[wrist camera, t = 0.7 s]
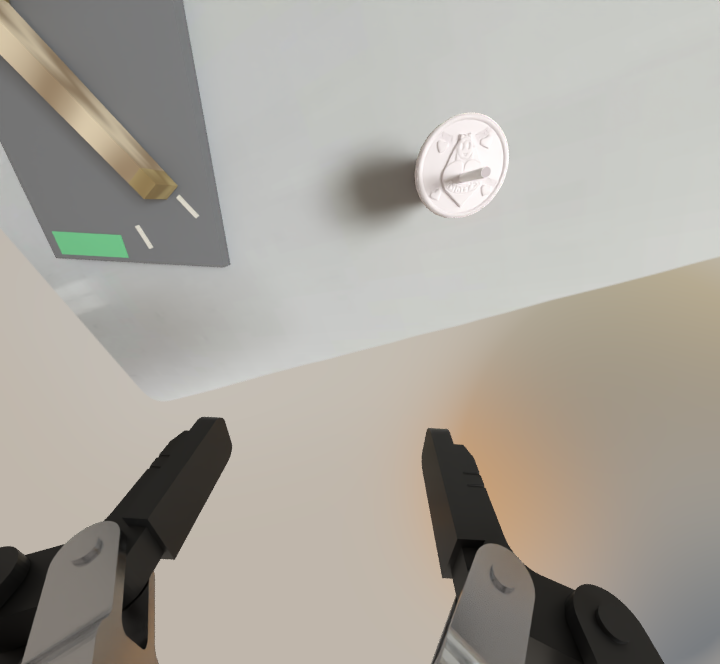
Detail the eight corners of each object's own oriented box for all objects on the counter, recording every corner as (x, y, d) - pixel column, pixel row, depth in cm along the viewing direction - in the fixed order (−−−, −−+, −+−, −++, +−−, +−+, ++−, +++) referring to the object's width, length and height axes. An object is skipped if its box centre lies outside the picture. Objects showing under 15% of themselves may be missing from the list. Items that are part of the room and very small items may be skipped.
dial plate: (-69, -49, 21) (-101, -67, 19) (175, -39, 21) (161, -57, 19) (69, 255, 32) (55, 258, 30) (230, 264, 32) (223, 267, 30)
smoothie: (402, 216, 28) (426, 227, 16) (401, 145, 25) (430, 91, 13) (461, 210, 28) (535, 218, 15) (467, 137, 25) (564, 74, 13)
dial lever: (-48, -13, 20) (-116, -47, 18) (-33, -57, 19) (-103, -101, 17) (163, 204, 27) (138, 204, 24) (183, 180, 26) (160, 177, 23)
